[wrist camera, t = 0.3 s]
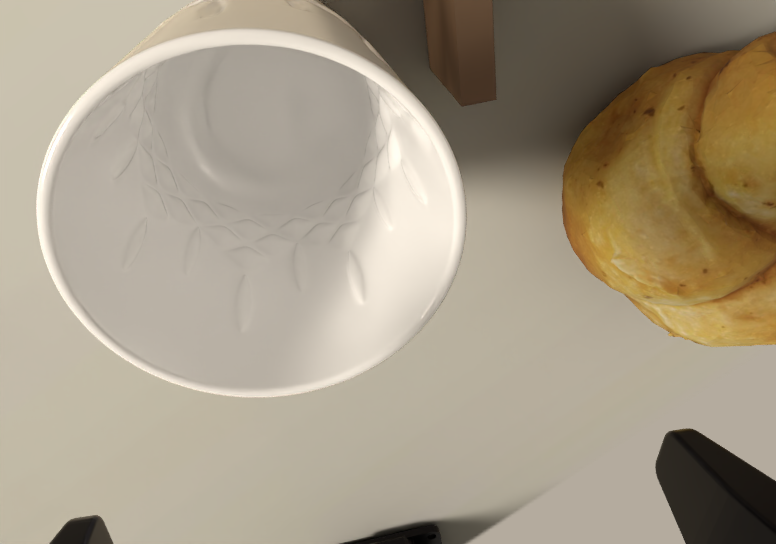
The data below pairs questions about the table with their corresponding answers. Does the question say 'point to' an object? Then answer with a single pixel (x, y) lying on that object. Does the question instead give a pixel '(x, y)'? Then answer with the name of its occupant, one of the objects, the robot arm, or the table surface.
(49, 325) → the table surface
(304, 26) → the white cup
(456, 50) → the box
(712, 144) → the bread roll
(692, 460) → the robot arm
